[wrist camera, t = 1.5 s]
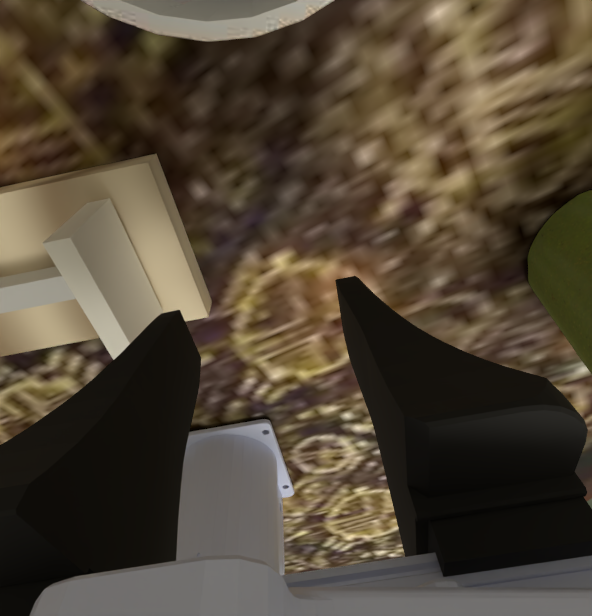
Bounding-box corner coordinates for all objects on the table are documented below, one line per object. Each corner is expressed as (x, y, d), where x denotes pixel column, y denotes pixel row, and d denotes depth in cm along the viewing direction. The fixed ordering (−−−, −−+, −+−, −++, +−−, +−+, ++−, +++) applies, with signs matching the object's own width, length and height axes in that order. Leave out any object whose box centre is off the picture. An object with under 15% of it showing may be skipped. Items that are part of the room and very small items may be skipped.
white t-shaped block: (109, 198, 16) (69, 237, 13) (163, 312, 20) (142, 366, 17) (-78, 237, 17) (-162, 285, 14) (6, 342, 20) (-45, 400, 17)
